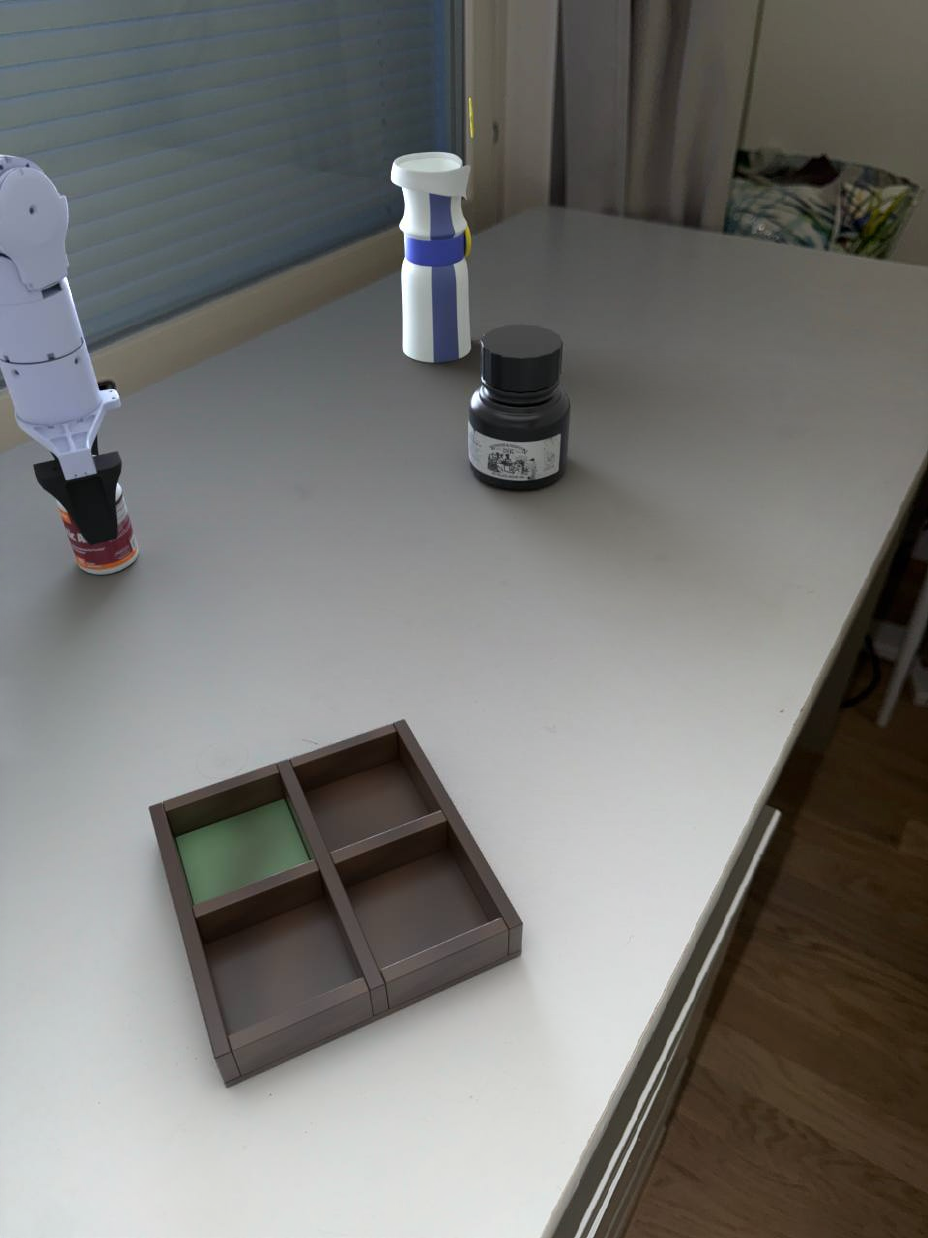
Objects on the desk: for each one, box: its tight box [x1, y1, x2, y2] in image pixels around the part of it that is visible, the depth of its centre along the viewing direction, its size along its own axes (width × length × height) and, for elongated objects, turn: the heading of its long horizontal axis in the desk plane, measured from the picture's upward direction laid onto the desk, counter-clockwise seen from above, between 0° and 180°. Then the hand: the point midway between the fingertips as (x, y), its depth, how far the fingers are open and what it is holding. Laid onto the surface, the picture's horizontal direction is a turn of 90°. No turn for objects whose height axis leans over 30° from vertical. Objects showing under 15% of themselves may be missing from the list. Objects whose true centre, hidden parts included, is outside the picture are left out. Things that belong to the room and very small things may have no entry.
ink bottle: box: [467, 323, 572, 490], centre depth 80 cm, size 10×9×12 cm
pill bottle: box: [55, 455, 139, 576], centre depth 71 cm, size 5×5×8 cm
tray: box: [148, 718, 524, 1089], centre depth 49 cm, size 15×15×3 cm
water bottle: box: [390, 97, 475, 364], centre depth 96 cm, size 8×9×25 cm
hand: (95, 513), depth 71 cm, fingers open, 7 cm apart
